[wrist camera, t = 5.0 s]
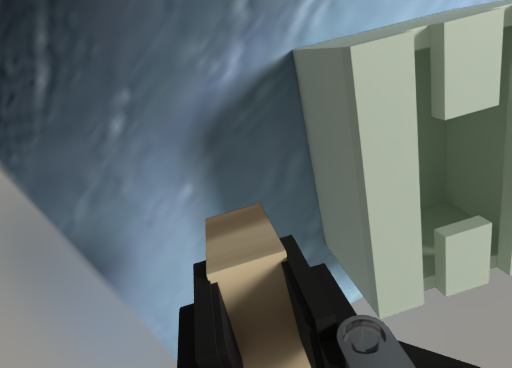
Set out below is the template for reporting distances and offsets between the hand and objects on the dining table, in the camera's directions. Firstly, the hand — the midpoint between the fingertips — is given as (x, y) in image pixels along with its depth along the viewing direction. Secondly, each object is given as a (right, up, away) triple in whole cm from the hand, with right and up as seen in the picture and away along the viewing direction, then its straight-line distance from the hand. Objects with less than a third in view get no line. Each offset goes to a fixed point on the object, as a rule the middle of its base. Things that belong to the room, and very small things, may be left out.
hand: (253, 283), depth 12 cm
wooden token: (0, 0, +4) cm, 4 cm away
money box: (+10, +7, +14) cm, 19 cm away
